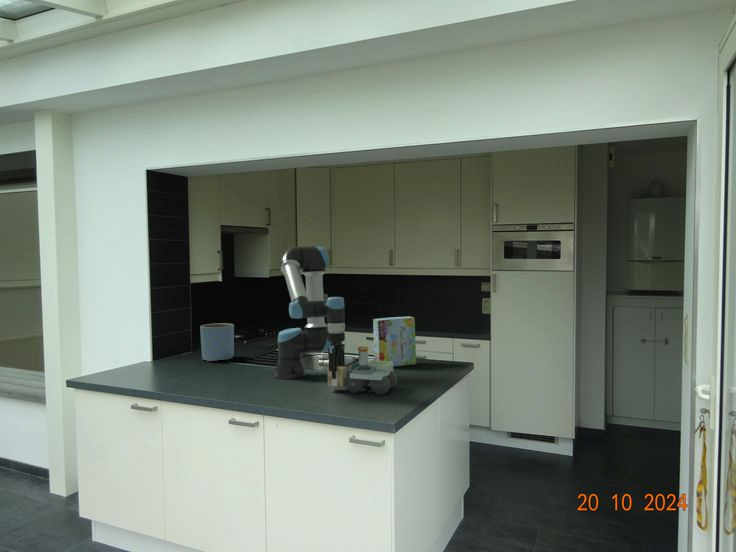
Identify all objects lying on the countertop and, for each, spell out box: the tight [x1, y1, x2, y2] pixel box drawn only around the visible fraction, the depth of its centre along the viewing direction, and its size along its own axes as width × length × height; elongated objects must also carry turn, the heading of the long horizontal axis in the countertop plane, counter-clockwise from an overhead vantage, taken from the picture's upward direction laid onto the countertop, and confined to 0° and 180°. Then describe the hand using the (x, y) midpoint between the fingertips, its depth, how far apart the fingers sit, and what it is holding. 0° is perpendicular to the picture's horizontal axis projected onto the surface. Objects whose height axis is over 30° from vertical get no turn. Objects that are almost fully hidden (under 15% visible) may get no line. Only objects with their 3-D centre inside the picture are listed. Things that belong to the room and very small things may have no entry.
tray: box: [368, 360, 394, 372], centre depth 244 cm, size 11×10×2 cm
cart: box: [344, 367, 398, 396], centre depth 241 cm, size 20×18×10 cm
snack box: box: [372, 315, 417, 368], centre depth 294 cm, size 22×9×26 cm, turn 111°
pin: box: [357, 345, 369, 371], centre depth 237 cm, size 5×5×11 cm
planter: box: [199, 322, 235, 362], centre depth 319 cm, size 19×19×20 cm
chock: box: [326, 366, 348, 388], centre depth 241 cm, size 7×5×8 cm
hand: (337, 384), depth 241 cm, fingers closed on chock, 5 cm apart
